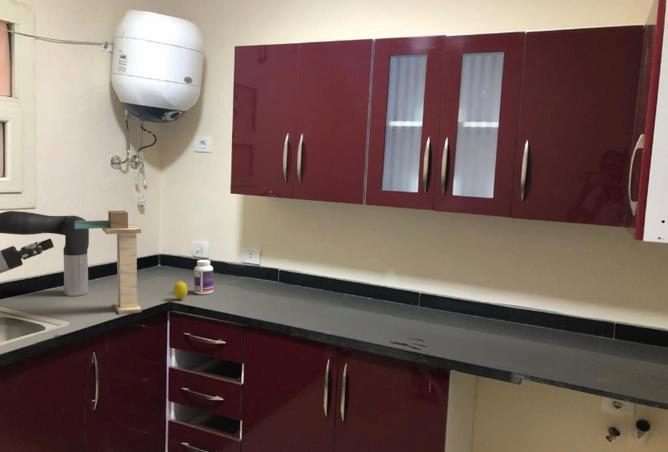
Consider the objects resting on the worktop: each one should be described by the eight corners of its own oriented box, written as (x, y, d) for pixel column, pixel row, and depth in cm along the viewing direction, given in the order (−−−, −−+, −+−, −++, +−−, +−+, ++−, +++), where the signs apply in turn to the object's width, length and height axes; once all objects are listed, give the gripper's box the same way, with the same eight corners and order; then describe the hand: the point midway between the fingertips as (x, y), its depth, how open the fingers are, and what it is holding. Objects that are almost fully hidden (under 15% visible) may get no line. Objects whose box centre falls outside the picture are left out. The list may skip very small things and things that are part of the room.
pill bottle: (214, 291, 249) (214, 259, 247) (211, 295, 241) (211, 262, 239) (196, 290, 249) (196, 259, 247) (192, 295, 241) (192, 262, 239)
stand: (103, 305, 219) (101, 225, 215) (135, 302, 225) (134, 224, 221) (107, 315, 206) (106, 230, 202) (141, 312, 212) (140, 229, 208)
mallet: (74, 227, 208) (73, 211, 207) (124, 225, 216) (124, 210, 215) (75, 229, 201) (75, 213, 200) (128, 228, 209) (127, 212, 208)
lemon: (183, 301, 229) (183, 282, 228) (171, 300, 230) (171, 281, 229) (189, 298, 234) (189, 280, 233) (177, 297, 235) (177, 279, 234)
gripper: (9, 266, 201) (55, 249, 208) (8, 273, 189) (57, 254, 196) (0, 247, 199) (47, 230, 206) (-2, 253, 187) (48, 235, 194)
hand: (52, 242), depth 201 cm, fingers open, 8 cm apart
